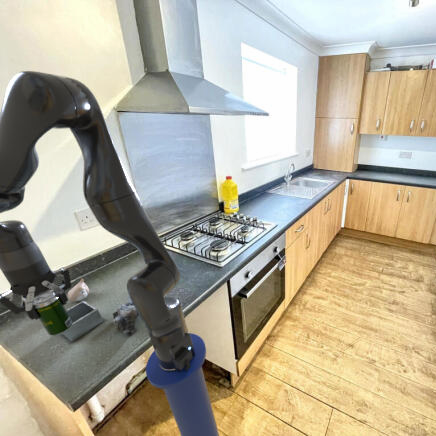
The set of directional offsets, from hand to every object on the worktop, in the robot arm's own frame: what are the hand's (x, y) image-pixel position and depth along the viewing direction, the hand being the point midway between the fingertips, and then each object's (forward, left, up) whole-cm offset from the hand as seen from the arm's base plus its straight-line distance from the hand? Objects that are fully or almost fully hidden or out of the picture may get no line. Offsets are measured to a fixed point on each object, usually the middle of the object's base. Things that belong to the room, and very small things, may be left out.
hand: (50, 310), depth 66 cm
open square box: (+9, -6, -17) cm, 20 cm away
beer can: (0, 0, -8) cm, 8 cm away
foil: (-4, -16, -17) cm, 24 cm away
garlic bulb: (+25, -13, -17) cm, 33 cm away
